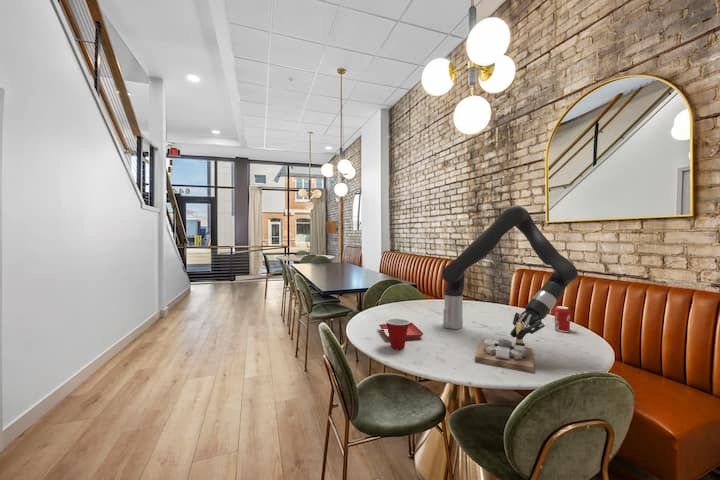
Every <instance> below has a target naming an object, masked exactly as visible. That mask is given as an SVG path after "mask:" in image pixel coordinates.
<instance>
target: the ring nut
mask: <svg viewBox="0 0 720 480" xmlns="http://www.w3.org/2000/svg"><path fill="white" fill-rule="evenodd" d="M500 339H505V340H509V341H510V342H511V350H510V348H506V347H501V346H499V340H500ZM499 340H496V339H487V338H485V339H484V340H483V341H484V350H486V352H487V353H488V354H490V355H494V354H496V357H498V358H504V359H509V358H510V357H511V358H513V359H515V360H516V359H522V357H526V347H527V343H525V342H523V346H519V345H516V341H514V340H513V339H512V338H507V337H500V338H499ZM513 341H514V342H513Z"/></svg>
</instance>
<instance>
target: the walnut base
mask: <svg viewBox="0 0 720 480" xmlns="http://www.w3.org/2000/svg"><path fill="white" fill-rule="evenodd" d="M484 341H485V340H483V339H480V343H479V345H478V347H477V349H476V352H475V354H474V362H475V363H480V364H484V365H490V366H494V367H495V366H496V367H500V368H506V369H512V370H517V371H523V372H528V373H531V374H533V373H535V365H534V354H533V349H534V348H532V347H528V346H526V357H522V359H516V360H515V359H513V358H511V357H510V358H509V359H504V358H498V357H496V354H494V355H490V354H488V353H487V352H486V350H484ZM498 341H499V346H501V347H506V348H510V350H511V342H510V341H509V340H505V339H500V338H499V339H498Z"/></svg>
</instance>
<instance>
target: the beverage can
mask: <svg viewBox="0 0 720 480" xmlns="http://www.w3.org/2000/svg"><path fill="white" fill-rule="evenodd" d="M570 324H571V310H570V309H569V307H567V306H560V305H559V306H558V305H556V307H555V309H554V329H555V330H556V331H557V332H560V333H568V332H569V331H571V326H570Z"/></svg>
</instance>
